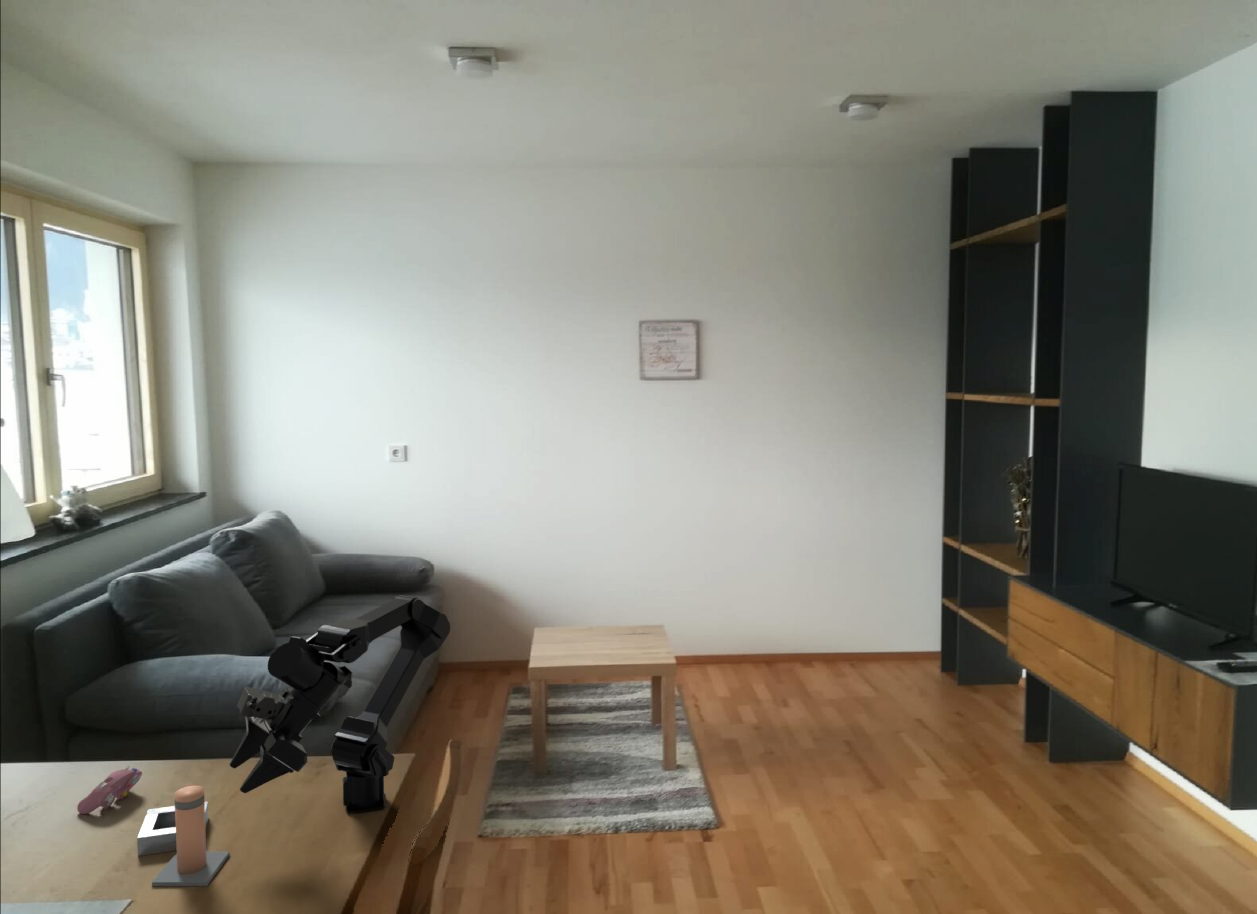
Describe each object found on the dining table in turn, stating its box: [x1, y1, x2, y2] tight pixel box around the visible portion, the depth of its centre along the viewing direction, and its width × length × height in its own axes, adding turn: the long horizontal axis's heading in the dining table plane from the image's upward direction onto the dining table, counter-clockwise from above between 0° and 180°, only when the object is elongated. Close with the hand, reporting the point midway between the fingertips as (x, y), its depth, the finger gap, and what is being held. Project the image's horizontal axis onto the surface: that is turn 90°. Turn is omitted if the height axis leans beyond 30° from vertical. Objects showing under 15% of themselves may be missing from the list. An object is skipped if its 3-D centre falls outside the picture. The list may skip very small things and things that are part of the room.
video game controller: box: [76, 765, 143, 815], centre depth 151 cm, size 10×5×7 cm, turn 169°
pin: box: [173, 785, 207, 874], centre depth 131 cm, size 4×4×12 cm
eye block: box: [136, 801, 209, 857], centre depth 141 cm, size 9×9×3 cm
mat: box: [151, 851, 230, 887], centre depth 132 cm, size 8×8×1 cm
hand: (236, 778), depth 135 cm, fingers open, 9 cm apart
